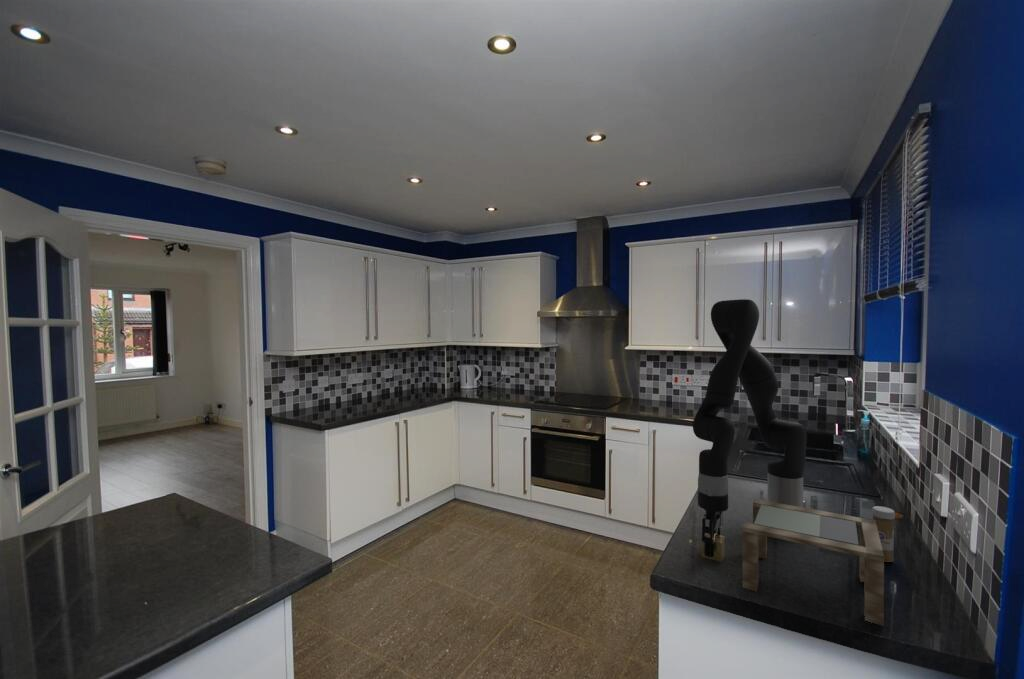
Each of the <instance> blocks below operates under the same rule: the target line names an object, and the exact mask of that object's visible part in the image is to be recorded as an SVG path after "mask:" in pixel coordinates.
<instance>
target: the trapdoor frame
mask: <svg viewBox="0 0 1024 679" xmlns="http://www.w3.org/2000/svg"><path fill="white" fill-rule="evenodd" d="M761 505H766V506H771V507H777V508H782V509H788V510H793V511H799V512H804V513H810V514H815V515H821V516H826V517H832V518H837V519H843V520H848V521H854V522H856V526H858V527H859V546H858V545H853V544H848V543H843V542H838V541H833V540H828V539H823V538H819V537H814V536H809V535H804V534H799V533H794V532H789V531H784V530H780V529H775V528H770V527H765V526H760V525H755V524H754V522H755V520H756V517H757V514H758V512H759V509H760V506H761ZM768 537H770V538H774V539H778V540H784V541H788V542H793V543H797V544H802V545H806V546H811V547H815V548H818V549H819V548H824V549H829V550H833V551H838V552H843V553H847V554H852V555H857V556H859V571H858V572H859V582H861V583H863V582H864V583H863V586H864V587H863V592H864V594H863V596H864V601H863V603H864V604H863V605H864V606H863V611H864V613H863V616H865V617H864V622H865V621H868V622H871V623H870V624H872V623H875V624H879V625H883V626H884V620H885V619H884V618H885V617H884V615H885V612H884V610H885V609H884V608H885V606H884V604H885V602H884V600H885V595H884V594H885V563H884V554H883V550H882V546H881V542H880V537H879V533H878V529H877V525H876V521H875V520H873V519H871V518H870V519H868V518H864V517H858V516H854V515H853V516H852V515H847V514H842V513H837V512H836V513H835V512H831V511H825V510H820V509H814V508H808V507H806V508H803V507H797V506H791V505H786V504H780V503H774V502H769V501H768V500H762V499H756V498H754V499H753V502H752V523H750V522H744V523H743V524H742V588H743V589H745V590H750V591H752V592H758V589H759V583H760V582H759V580H760V579H759V576H760V575H759V573H760V572H759V561H760V560H759V558H760V559H764V560H766V559H767V555H768ZM868 622H867V623H868ZM875 624H874V625H875ZM879 625H878V626H879ZM884 627H885V626H884Z"/></svg>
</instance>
